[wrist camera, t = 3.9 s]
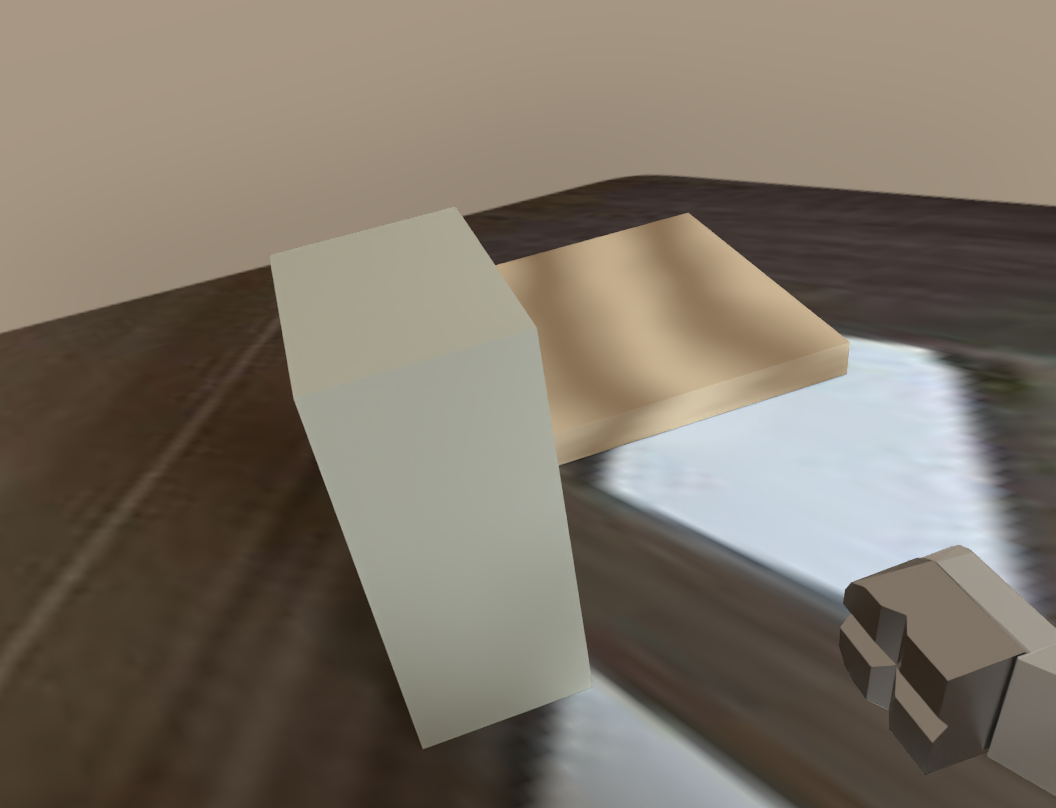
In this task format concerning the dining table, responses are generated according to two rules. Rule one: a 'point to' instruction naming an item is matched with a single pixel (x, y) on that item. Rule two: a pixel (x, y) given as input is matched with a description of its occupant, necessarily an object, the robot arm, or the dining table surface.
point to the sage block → (438, 465)
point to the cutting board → (662, 333)
